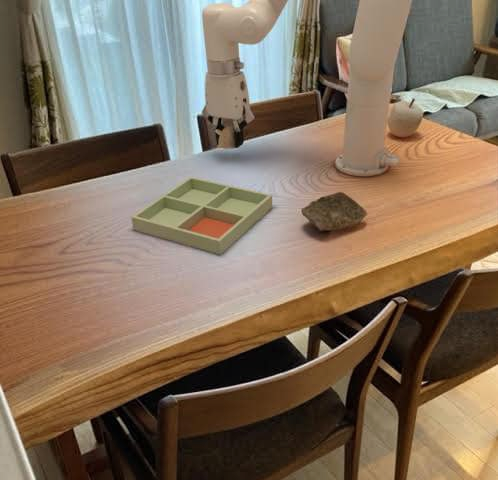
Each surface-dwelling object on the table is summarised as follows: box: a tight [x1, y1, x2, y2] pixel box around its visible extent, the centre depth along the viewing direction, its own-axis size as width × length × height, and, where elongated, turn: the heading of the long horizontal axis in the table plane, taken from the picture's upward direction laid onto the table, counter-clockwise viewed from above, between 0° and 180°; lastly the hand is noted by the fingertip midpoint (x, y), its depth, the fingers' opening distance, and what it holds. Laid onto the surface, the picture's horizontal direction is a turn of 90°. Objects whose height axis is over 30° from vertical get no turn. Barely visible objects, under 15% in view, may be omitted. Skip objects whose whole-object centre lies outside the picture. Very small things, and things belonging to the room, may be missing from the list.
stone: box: [300, 191, 368, 232], centre depth 108 cm, size 13×8×8 cm
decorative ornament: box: [214, 124, 236, 150], centre depth 133 cm, size 4×8×5 cm, turn 130°
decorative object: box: [387, 97, 424, 138], centre depth 142 cm, size 9×9×10 cm
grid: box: [130, 176, 273, 255], centre depth 112 cm, size 21×21×3 cm
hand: (230, 143), depth 135 cm, fingers closed on decorative ornament, 4 cm apart
